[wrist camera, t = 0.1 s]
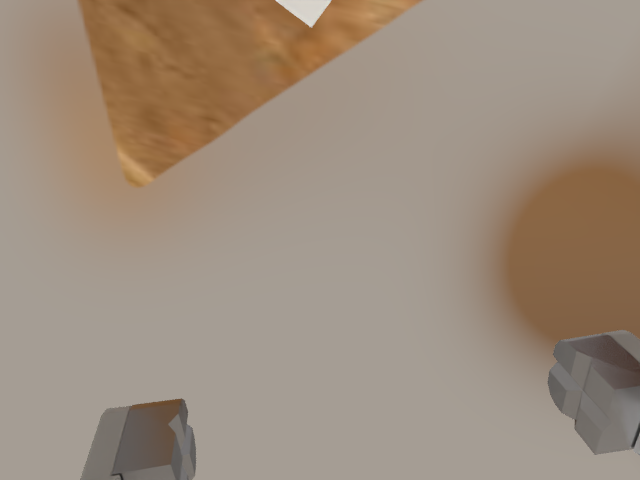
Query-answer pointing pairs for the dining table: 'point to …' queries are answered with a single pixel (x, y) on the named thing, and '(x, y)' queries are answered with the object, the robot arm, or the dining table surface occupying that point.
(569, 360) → the robot arm
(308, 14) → the offwhite block
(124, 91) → the dining table surface
